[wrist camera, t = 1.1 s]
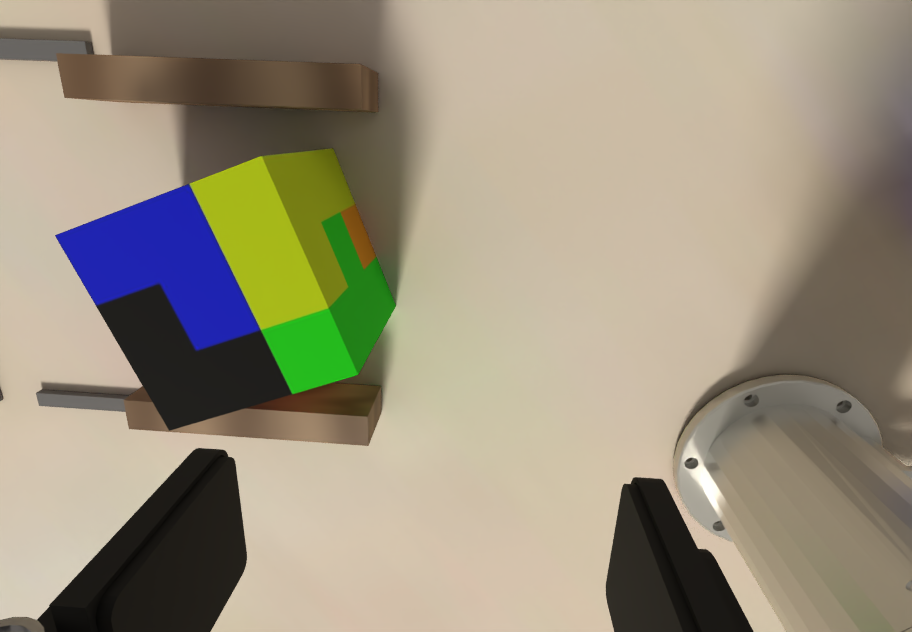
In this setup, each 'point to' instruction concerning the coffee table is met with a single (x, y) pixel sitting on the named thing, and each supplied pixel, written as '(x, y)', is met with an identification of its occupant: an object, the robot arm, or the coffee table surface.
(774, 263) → the coffee table surface
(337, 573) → the coffee table surface
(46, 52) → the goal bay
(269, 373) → the puzzle toy
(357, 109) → the chute
